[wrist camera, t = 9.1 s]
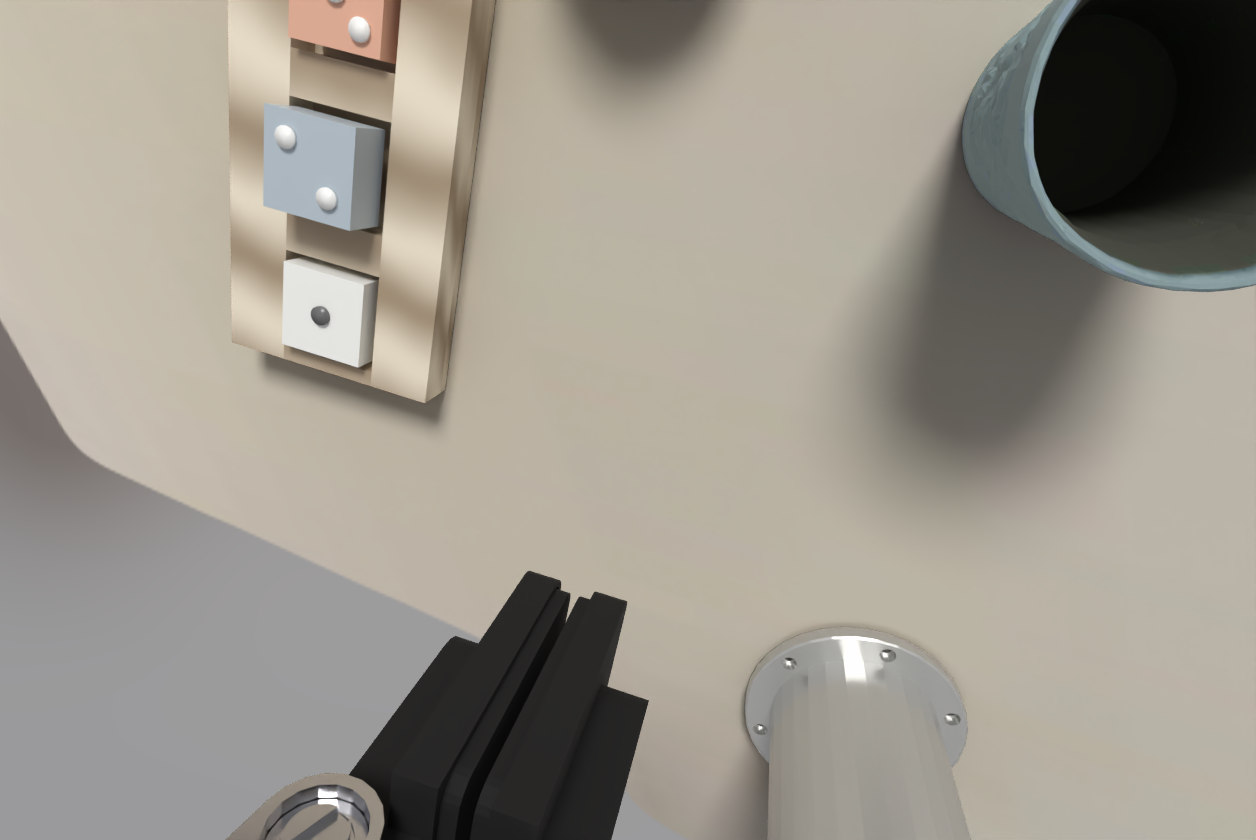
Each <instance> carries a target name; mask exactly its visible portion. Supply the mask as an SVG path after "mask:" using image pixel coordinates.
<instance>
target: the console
mask: <svg viewBox="0 0 1256 840" xmlns="http://www.w3.org/2000/svg"><path fill="white" fill-rule="evenodd" d="M495 2H496V0H401V10H400V22H399V35H398V47H397V60H396V64H392V63H388V62H384V61H380V60H376V59H373V58H369V57H365V56H361V55H357V54H353V53H349V52H345V51H341V50H338V49H334V48H330V47H326V46H322V45H318V44H314V43H310V42H306V41H302V40H299V39H295V38H291V37H288V19H289V0H228V50H229V135H230V220H231V305H232V342H233V343H236V344H239V345H242V346H246V347H249V348H252V349H255V350H258V351H261V352H264V353H268V354H271V355H274V356H277V357H280V358H283V359H287V360H290V361H293V362H296V363H299V364H302V365H306V366H309V367H312V368H315V369H318V370H321V371H324V372H328V373H331V374H334V375H337V376H340V377H343V378H347V379H350V380H353V381H356V382H359V383H362V384H365V385H369V386H372V387H375V388H378V389H381V390H384V391H388V392H391V393H394V394H397V395H400V396H403V397H407V398H410V399H413V400H416V401H419V402H422V403H426V402H428V401H429V400H431V399H432V398H434V397H435V396H437V395H438V394H440V393H441V392H443V391H444V390H445V388H446V380H447V372H448V365H449V357H450V349H451V342H452V334H453V326H454V318H455V311H456V303H457V295H458V288H459V280H460V272H461V264H462V257H463V249H464V241H465V234H466V226H467V218H468V210H469V203H470V195H471V187H472V180H473V172H474V164H475V156H476V149H477V141H478V133H479V126H480V118H481V110H482V102H483V95H484V87H485V79H486V72H487V64H488V56H489V48H490V41H491V33H492V25H493V18H494V10H495ZM264 103H271V104H280V105H289V106H297V107H302V108H306V109H310V110H313V111H317V112H321V113H325V114H328V115H332V116H336V117H339V118H343V119H347V120H351V121H354V122H358V123H362V124H365V125H369V126H373V127H377V128H380V129H384V130H385V142H384V155H383V168H382V181H381V194H380V207H379V220H378V227H371V228H365V229H359V230H353V231H348V230H345V229H341V228H338V227H334V226H331V225H327V224H324V223H320V222H317V221H314V220H310V219H307V218H303V217H300V216H296V215H293V214H289V213H286V212H282V211H279V210H276V209H272V208H269V207H265V206H263V180H264ZM306 256H309V257H312V258H316V259H319V260H322V261H326V262H329V263H333V264H336V265H339V266H343V267H346V268H349V269H353V270H356V271H360V272H363V273H366V274H370V275H373V276H376V277H379V286H378V298H377V311H376V323H375V336H374V348H373V361H371V362H369V363H367V364H365V365H363V366H361V367H354V366H351V365H348V364H345V363H342V362H338V361H335V360H332V359H329V358H326V357H323V356H319V355H316V354H313V353H310V352H307V351H303V350H300V349H297V348H294V347H291V346H288V345H284V344H282V318H283V269H284V261H286V260H291V259H296V258H301V257H306Z"/></svg>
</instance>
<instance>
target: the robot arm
mask: <svg viewBox="0 0 1256 840" xmlns="http://www.w3.org/2000/svg"><path fill="white" fill-rule="evenodd" d="M569 602H570V593H568V592H564V591H561V581H560V580H557V579H554V578H551V577H547V576H544V575H541V574H538V573H535V572H532V571H528V572H527V573H526V574H525V575H524V576H523V578H522V579H521V581H520V582H519V584H518V585H517V587H516V588H515V590H514V591H513V593H512V594H511V596H510V597H509V599H508V600H507V602H506V603H505V605H504V606H503V608H502V609H501V611H500V612H499V614H498V615H497V617H496V618H495V620H494V621H493V623H492V624H491V626H490V627H489V629H488V630H487V632H486V633H485V635H484V636H483V638H482V639H481V641H480V642H479V644H478V643H475V642H472V641H469V640H466V639H463V638H460V637H457V636H455V637H453V638H451V639H450V640H449V641H448V642H447V643H446V645H445V646H444V647H443V648H442V650H441V651H440V653H439V654H438V655H437V657H436V658H435V659H434V661H433V662H432V663H431V665H430V666H429V667H428V669H427V670H426V672H425V673H424V674H423V675H422V677H421V678H420V679H419V681H418V682H417V684H416V685H415V686H414V688H413V689H412V690H411V692H410V693H409V694H408V696H407V697H406V698H405V700H404V701H403V703H402V704H401V705H400V706H399V708H398V709H397V711H396V712H395V713H394V715H393V716H392V717H391V719H390V720H389V721H388V723H387V724H386V725H385V727H384V728H383V730H382V731H381V732H380V734H379V735H378V736H377V738H376V739H375V740H374V742H373V743H372V744H371V746H370V747H369V748H368V750H367V751H366V752H365V754H364V755H363V756H362V758H361V759H360V760H359V762H358V763H357V765H356V766H355V767H354V769H353V770H352V771H351V773H350V774H349V775H347V774H334V773H324V774H319V775H314V776H309V777H305V778H303V779H301V780H298V781H296V782H294V783H292V784H289V785H287V786H285V787H284V788H283V789H281V790H280V791H279V792H277V793H276V794H275V795H273V796H272V797H271V798H269V799H268V800H267V801H266V802H265V803H264V804H263V805H262V806H261V807H260V808H258V809H257V810H256V811H255V812H254V813H253V814H252V815H251V816H250V817H249V818H248V819H247V820H246V821H245V822H243V824H242V825H240V826H239V827H238V828H237V829H236V830H235V831H234V832H233V833H232V834H231V835H230V836H229V837H228V838H227V839H226V840H611V838H612V835H613V830H614V827H615V823H616V820H617V816H618V812H619V809H620V805H621V801H622V797H623V794H624V790H625V787H626V783H627V779H628V775H629V772H630V768H631V764H632V761H633V757H634V753H635V750H636V746H637V742H638V739H639V735H640V731H641V727H642V724H643V720H644V716H645V713H646V709H647V705H648V702H649V700H646V699H643V698H640V697H637V696H634V695H631V694H628V693H625V692H622V691H619V690H616V689H613V688H610V687H607V686H608V682H609V677H610V673H611V669H612V665H613V661H614V657H615V653H616V648H617V644H618V640H619V636H620V632H621V628H622V624H623V619H624V615H625V611H626V607H627V601H624V600H621V599H618V598H614V597H611V596H608V595H605V594H602V593H598V592H594V593H593V595H592V597H591V599H587V598H583V597H579V598H578V600H577V601H576V603H575V605H574V607H573V609H572V611H571V613H570V615H569V617H568V619H567V621H566V617H567V612H568V607H569ZM565 622H566V623H565ZM745 717H746V726H747V728H748V731H749V734H750V737H751V740H752V742H753V743H754V745H755V747H756V748H757V750H758V751H759V753H760V755H761V756H762V757H763V758H764V759H765V760H766V761H767V762H768V763H769V799H768V834H767V840H971V838H970V834H969V831H968V827H967V824H966V820H965V816H964V813H963V809H962V805H961V802H960V798H959V795H958V791H957V787H956V784H955V780H954V776H953V773H952V768H953V766H954V765H955V764H956V763H957V761H958V760H959V758H960V756H961V754H962V751H963V749H964V747H965V744H966V738H967V732H968V726H967V716H966V711H965V708H964V704H963V701H962V698H961V695H960V693H959V691H958V689H957V687H956V685H955V683H954V681H953V679H952V678H951V676H950V675H949V674H948V673H947V672H946V670H945V669H944V668H943V667H942V665H941V664H940V663H938V662H937V661H936V660H935V659H934V658H932V657H931V656H930V655H929V654H928V653H926V652H925V651H924V650H922V649H920V648H918V647H917V646H915V645H913V644H911V643H910V642H908V641H906V640H903V639H901V638H898V637H895V636H893V635H890V634H887V633H884V632H879V631H874V630H870V629H865V628H850V627H837V628H827V629H819V630H815V631H811V632H808V633H804V634H800V635H798V636H796V637H794V638H792V639H789V640H787V641H785V642H783V643H782V644H780V645H779V646H777V647H776V648H775V649H773V650H772V651H770V652H769V653H768V654H767V655H766V656H765V657H764V658H763V660H762V661H761V662H760V663H759V664H758V665H757V667H756V669H755V671H754V672H753V674H752V676H751V678H750V681H749V684H748V688H747V692H746V702H745Z"/></svg>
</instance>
